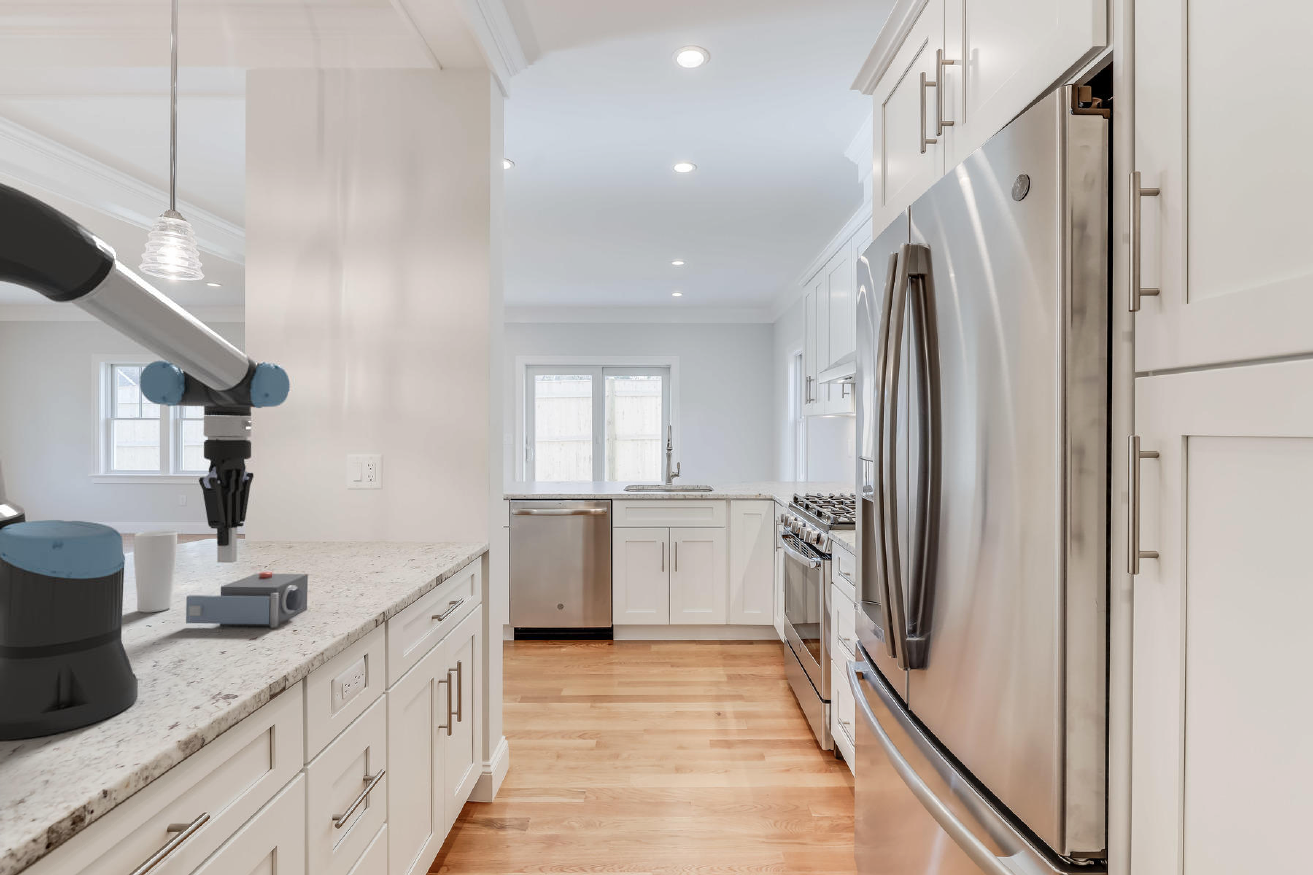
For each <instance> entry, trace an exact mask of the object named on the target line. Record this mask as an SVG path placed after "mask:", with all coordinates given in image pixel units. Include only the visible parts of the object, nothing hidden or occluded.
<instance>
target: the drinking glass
mask: <svg viewBox="0 0 1313 875" xmlns="http://www.w3.org/2000/svg"><path fill="white" fill-rule="evenodd" d="M133 537H134V538H133V567H134V576H135V577H134V579H135V586H136V587H135V588H136V599H137V600H136V602H137V603H136V606H137V607H136V608H137V612H140V613H145V614H146V613H147V614H148V613H149V614H150V613H159V612H163V611H166V610H168V609H171V607H172V605H173V604H172V603H173V591H174V583H175V574H176V567H177V558H178V549H179V548H178V546H179V545H178V532H177V531H175V530H155V531H153V530H152V531H144V532H143V531H142V532H138V533H135V534H134V535H133Z"/></svg>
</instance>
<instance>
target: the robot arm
mask: <svg viewBox="0 0 1313 875" xmlns="http://www.w3.org/2000/svg"><path fill="white" fill-rule="evenodd" d="M0 282H5V283H8V284H14V285H17V286H21V287H24V288H27V289H29V290H33V291H35V292H36V293H38V294H40V295H42V296H43V297H45V298H46V299H48V300H50V301H53V302H54V303H60V304H65V303H67V304H68V303H72V304H73V305H75V306H76V307H78V308H80V309H81V310H82V311H84V312H86V313H88V314H89V315H92V316H93V317H94V318H96V319H97V320H99V321H100V322H102V323H104V324H106V325H108V326H110V327H111V328H112V329H114V330H116V331H118V333H120V334H122V335H124V336H125V337H127V338H129V339H131V340H132V341H134V342H135V343H136V344H138V345H140V346H142V347H143V348H145V349H147V350H149V351H150V352H151V353H154V354H155V355H156V356H158V357H160V358H161V359H163V360H157V361H153V362H150V363H149V364H147V365H146V366H145V367H144V368H143V369H142V372H141V373H140V376H139V379H140V381H139V384H140V385H139V389H140V392H141V393H142V395H143V396H144V397H145V399H146V400H148V401H149V402H150V403H152V404H155V405H160V406H161V405H164V406H167V407H176V406H177V407H178V406H179V407H180V406H181V407H203V415H204V416H203V436H204V437H206V438H207V439H206V440H204V441H203V458H204V459H205V460H209V462H210V463H209V467H208V474H207V475H206V476H204V477H203V476H201V477H199V479H198V482H199V484H200V486H201V489H202V494H203V500H204V508H205V512H206V518H207V525H208V526H209V528H210V529H216V530H217V532H216V544H217V549H216V550H217V552H216V553H217V555H216V556H217V559H216V560H217V562H216V563H221V564H222V563H226V564H227V563H235V562H237V558H238V554H237V553H238V550H237V548H238V527H241V528H243V527H244V522H245V521H246V516H247V510H248V505H249V503H248V502H249V498H250V491H251V490H250V489H251V485H252V482H253V479H254V477H255V476H254V472H248V471H247V470H246V469H247V467H246V463H245V460H249V459H251V458H252V441H251V440H250V439H248V438H250V437H251V435H252V425H253V423H252V408H256V409H261V408H262V409H263V408H271V407H272V408H273V407H278V406H280V405H282V404H283V403H284V402H285V401H286V400H287V398H288V396H289V392H290V387H291V385H290V384H291V383H290V378H289V375H288V373H287V372H286V370H285V369H284V368H283V367H282V366H280V365H278V364H276V363H268V362H257V361H255V360H253V359H252V358H250V357H249V356H248V355H246V354H245V353H243V352H242V351H240V350H239V349H238V348H237V347H235V346H234V345H232V344H231V343H230V342H228V341H227V340H226V339H224V338H223V337H222V336H220V335H219V334H218V333H216V332H215V331H213V330H212V329H211V328H209V327H208V326H206V325H205V324H204V323H203V322H201V321H199V320H198V319H197V318H196V317H194V316H193V315H192V314H190V313H189V312H187V311H186V310H185V309H184V308H182V307H180V306H179V305H178V304H177V303H175V302H174V301H172V300H171V299H170V298H169V297H167V296H166V295H164V294H163V293H161V292H160V291H159V290H157V289H156V288H155V287H153V286H152V285H150V284H149V282H146V281H145V280H144V279H142V277H140V276H138V275H137V274H136V273H134V272H133V271H132V270H130V269H129V268H127V267H126V266H125V265H123V264H122V263H121V262H119V261H118V260H117V257H116V252H115V250H114V248H113V247H112V246H111V245H110V244H108V243H107V242H105V241H104V240H103V239H101V237H99V236H98V235H96V234H94V233H93V232H92V231H90V230H89V229H88V228H87V227H85V226H83V225H82V224H81V223H80V222H77V221H76V220H74V219H73V218H72V217H70V216H68V215H67V214H65V213H63V212H62V211H59V210H58V209H57V208H55V207H53V206H52V205H50V204H48V203H46V202H44V201H42V200H40V199H38V198H36V197H35V196H32V195H30V194H28V193H26V192H24V191H21V190H20V189H18V188H15V187H12V186H10V185H8V184H4V183H2V182H0ZM3 468H4V467H3V463H2V454H1V452H0V740H2V741H3V740H4V741H5V740H17V739H28V738H34V737H41V736H47V735H52V734H53V735H54V734H57V733H62V732H65V731H70V730H75V729H77V728H82V727H84V726H88V725H92V724H95V723H98V722H100V721H103V720H106V719H107V718H110V717H113V716H115V715H117V714H119V713H121V712H124V711H125V710H126V709H128V708H129V707H131V706H132V705H134V703H135V702H136V701H137V699H138V693H139V692H138V690H139V689H138V688H139V686H138V684H139V683H138V682H139V681H138V677H137V676H136V674H135V673H134V671H133V668H132V665H131V662H130V660H129V657H128V655H127V652H126V650H125V646H124V644H123V640H122V630H123V629H122V626H123V625H122V623H123V603H124V582H125V581H124V580H125V562H126V557H125V554H124V545H123V537H122V535H121V533H120V532H119V531H118V530H117V529H115V528H114V527H112V526H109V525H106V524H102V523H98V522H91V521H84V520H83V521H82V520H70V521H69V520H59V519H53V520H52V519H51V520H47V519H46V520H32V521H26V514H25V509H24V507H22V506H20V505H18V504H16V503H14V502H13V501H11V500H9V499H8V498H7V494H6V487H5V485H6V484H5V477H4V470H3Z"/></svg>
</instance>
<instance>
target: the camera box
mask: <svg viewBox="0 0 1313 875" xmlns="http://www.w3.org/2000/svg"><path fill="white" fill-rule="evenodd" d="M308 575H309V574H308V573H307V574H306V573H273V571H263V572H259V573H255V574H251V575H249V576H246V577H244V578H241V579H238V580H236V581H233V582H231V583H230V582H229V583H227V584H224V585H221V586H220V596H271V593H278V626H279V625H280V624H282V623H284V622H286V621H288V620H289V619H292V618H294V617H295V616H297V615H299V614H301V613H302V612H305V611H307V610H308V587H309V586H308V584H309V583H308V580H309V579H308V578H309V577H308ZM219 626H258V627H259V626H261V627H262V626H264V627H266V626H268V627H270V624H219Z"/></svg>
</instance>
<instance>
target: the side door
mask: <svg viewBox="0 0 1313 875" xmlns="http://www.w3.org/2000/svg"><path fill="white" fill-rule="evenodd" d="M185 599H186V603H185V604H186V605H185V624H213V625H214V624H219V625H220V624H270V626H269V628H270V629H275V628H278V627H279V625H278V593H271V596H221V595H206V594H205V595H197V594H196V595H191V594H190V595H187V596H186V598H185Z"/></svg>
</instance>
